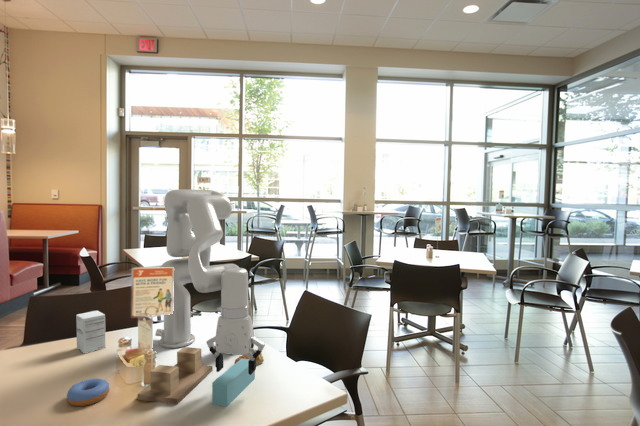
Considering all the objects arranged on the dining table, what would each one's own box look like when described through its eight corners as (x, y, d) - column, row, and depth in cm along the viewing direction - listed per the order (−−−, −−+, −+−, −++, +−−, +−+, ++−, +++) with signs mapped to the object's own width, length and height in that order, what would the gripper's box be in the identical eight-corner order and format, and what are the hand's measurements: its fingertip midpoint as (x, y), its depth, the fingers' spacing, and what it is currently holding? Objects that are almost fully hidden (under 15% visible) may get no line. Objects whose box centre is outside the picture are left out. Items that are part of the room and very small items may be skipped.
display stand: (137, 399, 104) (137, 372, 103) (178, 367, 123) (178, 344, 123) (177, 404, 101) (177, 377, 101) (212, 370, 121) (212, 347, 120)
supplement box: (76, 348, 137) (75, 314, 136) (98, 342, 143) (98, 309, 142) (83, 354, 132) (82, 318, 132) (106, 348, 138) (105, 313, 137)
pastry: (240, 371, 121) (240, 360, 120) (230, 364, 126) (230, 353, 126) (265, 363, 127) (265, 352, 127) (254, 357, 132) (254, 346, 132)
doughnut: (82, 387, 110) (82, 372, 109) (116, 389, 109) (116, 375, 109) (58, 409, 100) (57, 393, 99) (95, 412, 99) (94, 396, 99)
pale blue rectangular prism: (212, 404, 102) (212, 382, 102) (241, 377, 117) (241, 358, 117) (227, 407, 100) (227, 385, 100) (254, 379, 116) (254, 360, 115)
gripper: (200, 314, 106) (201, 374, 106) (259, 317, 102) (260, 379, 103) (212, 306, 113) (213, 363, 113) (268, 309, 110) (268, 367, 110)
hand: (235, 371), depth 108 cm, fingers open, 9 cm apart
